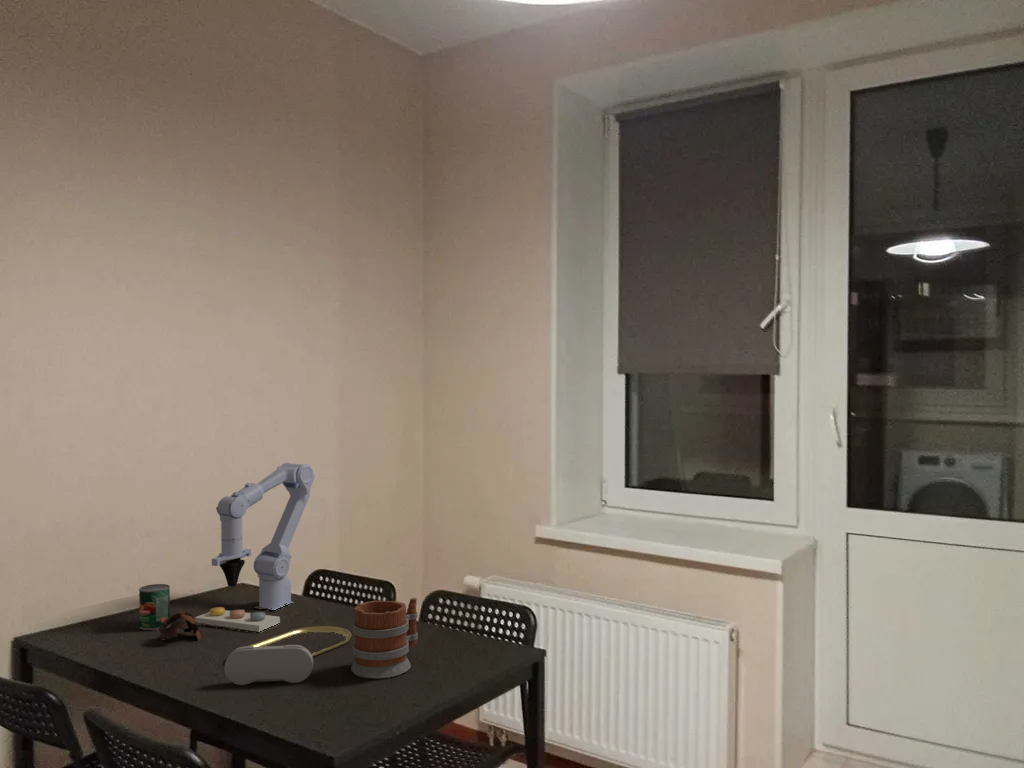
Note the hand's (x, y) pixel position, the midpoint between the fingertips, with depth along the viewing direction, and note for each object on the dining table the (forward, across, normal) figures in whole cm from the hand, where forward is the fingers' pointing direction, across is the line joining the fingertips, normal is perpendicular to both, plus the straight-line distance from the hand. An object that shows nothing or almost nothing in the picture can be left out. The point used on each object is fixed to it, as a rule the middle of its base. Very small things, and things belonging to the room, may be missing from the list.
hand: (232, 585), depth 242 cm
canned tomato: (+10, +14, -15) cm, 23 cm away
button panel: (+9, +4, +5) cm, 11 cm away
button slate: (+7, +4, +12) cm, 14 cm away
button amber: (+7, +4, -2) cm, 8 cm away
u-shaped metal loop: (+10, +17, +33) cm, 38 cm away
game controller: (+10, +38, +42) cm, 57 cm away
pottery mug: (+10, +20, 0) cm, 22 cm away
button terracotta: (+8, +4, +5) cm, 10 cm away
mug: (+10, +19, +62) cm, 66 cm away
